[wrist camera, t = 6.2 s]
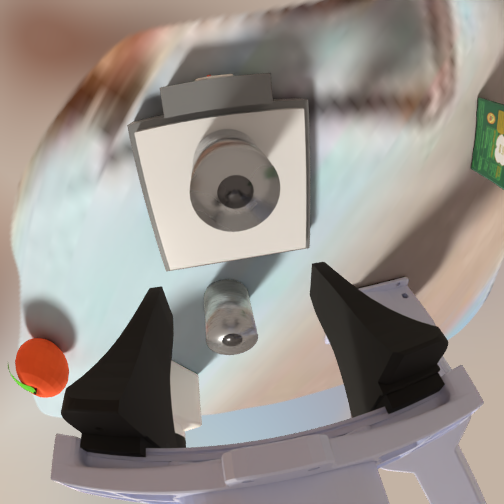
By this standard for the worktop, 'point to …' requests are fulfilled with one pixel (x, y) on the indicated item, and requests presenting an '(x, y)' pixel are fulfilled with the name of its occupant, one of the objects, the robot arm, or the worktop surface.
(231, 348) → the spacer
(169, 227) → the scale
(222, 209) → the spacer
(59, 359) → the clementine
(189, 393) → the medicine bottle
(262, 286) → the worktop surface
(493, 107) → the green cardboard box
